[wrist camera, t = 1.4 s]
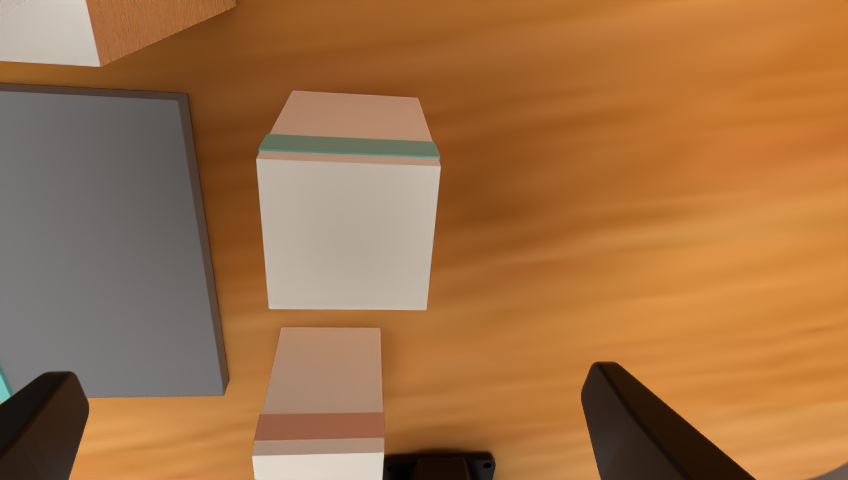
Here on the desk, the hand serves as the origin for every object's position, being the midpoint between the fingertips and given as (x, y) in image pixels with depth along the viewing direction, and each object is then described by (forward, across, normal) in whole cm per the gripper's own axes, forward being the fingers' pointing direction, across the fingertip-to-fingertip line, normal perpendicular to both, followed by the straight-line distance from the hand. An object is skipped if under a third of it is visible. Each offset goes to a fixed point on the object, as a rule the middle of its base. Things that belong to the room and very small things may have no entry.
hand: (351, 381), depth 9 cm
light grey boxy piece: (+12, +1, +12) cm, 17 cm away
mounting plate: (+12, +11, +6) cm, 18 cm away
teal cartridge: (+12, 0, +1) cm, 12 cm away
